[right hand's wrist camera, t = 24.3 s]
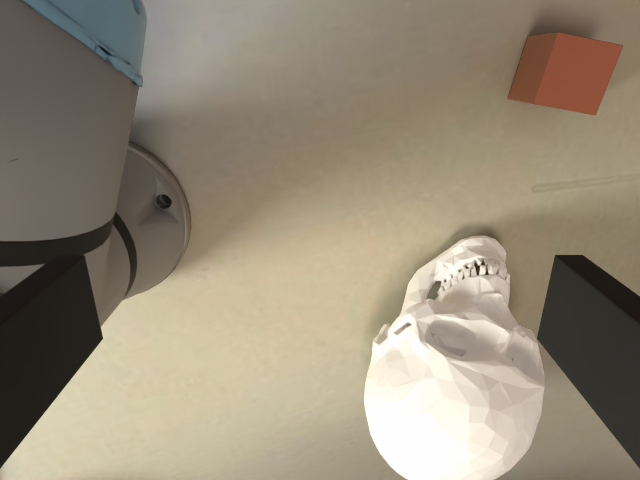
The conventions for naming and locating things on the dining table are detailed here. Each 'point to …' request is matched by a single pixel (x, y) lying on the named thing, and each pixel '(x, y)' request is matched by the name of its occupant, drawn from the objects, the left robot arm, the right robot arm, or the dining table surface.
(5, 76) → the right robot arm
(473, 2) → the dining table surface
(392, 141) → the dining table surface
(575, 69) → the terracotta block
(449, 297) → the skull
